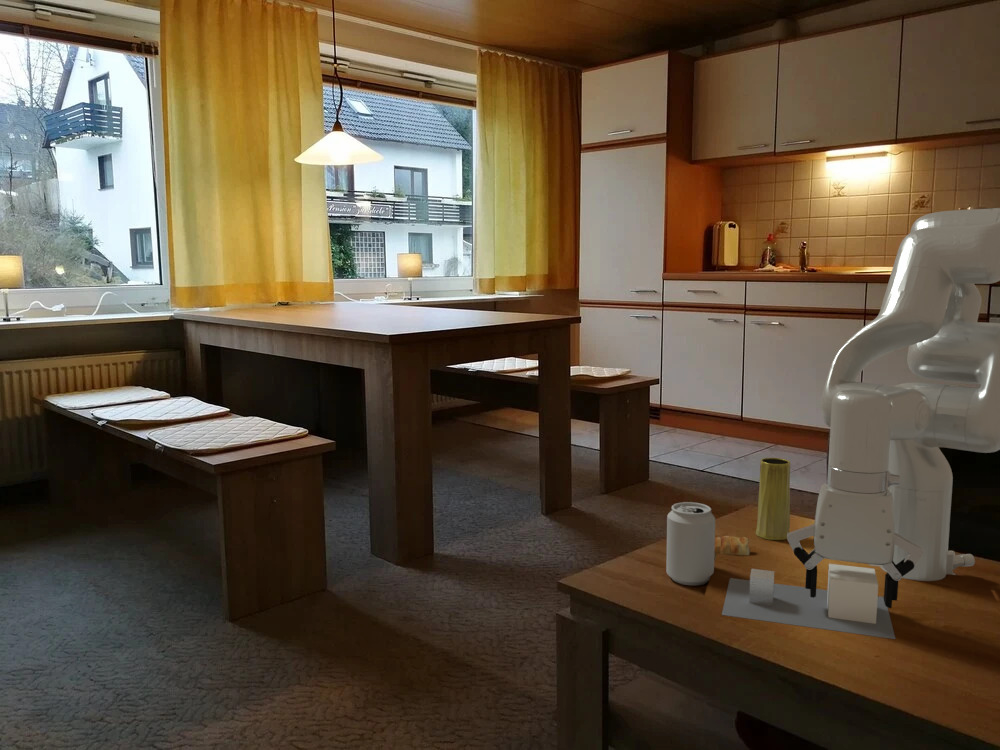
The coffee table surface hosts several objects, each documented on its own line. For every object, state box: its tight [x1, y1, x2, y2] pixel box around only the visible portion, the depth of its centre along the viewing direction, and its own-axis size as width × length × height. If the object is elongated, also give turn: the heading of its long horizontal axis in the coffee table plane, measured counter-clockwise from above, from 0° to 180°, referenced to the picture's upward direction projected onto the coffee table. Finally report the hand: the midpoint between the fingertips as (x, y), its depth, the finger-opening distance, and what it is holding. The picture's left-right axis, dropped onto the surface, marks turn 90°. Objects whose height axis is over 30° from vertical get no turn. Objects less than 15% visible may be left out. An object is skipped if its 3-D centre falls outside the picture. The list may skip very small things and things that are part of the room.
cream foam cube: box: [827, 563, 879, 624], centre depth 111 cm, size 6×6×6 cm
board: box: [721, 577, 896, 640], centre depth 114 cm, size 22×14×2 cm, turn 69°
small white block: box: [749, 568, 775, 606], centre depth 115 cm, size 3×3×4 cm
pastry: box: [714, 535, 750, 561], centre depth 137 cm, size 9×7×4 cm
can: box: [665, 501, 716, 586], centre depth 127 cm, size 8×8×12 cm
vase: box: [755, 457, 791, 541], centre depth 147 cm, size 6×6×14 cm
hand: (849, 599), depth 111 cm, fingers open, 9 cm apart
